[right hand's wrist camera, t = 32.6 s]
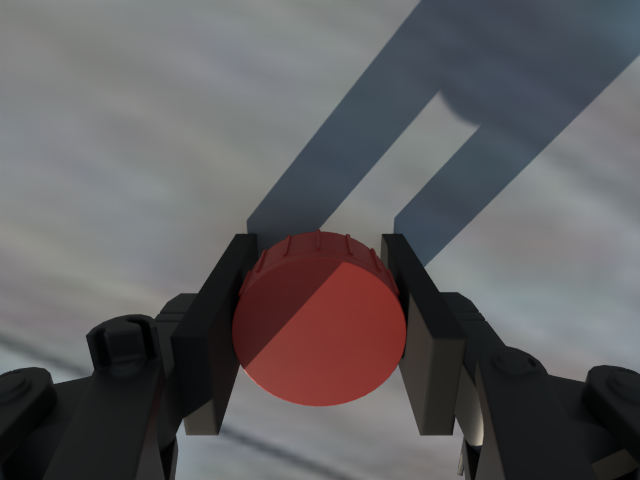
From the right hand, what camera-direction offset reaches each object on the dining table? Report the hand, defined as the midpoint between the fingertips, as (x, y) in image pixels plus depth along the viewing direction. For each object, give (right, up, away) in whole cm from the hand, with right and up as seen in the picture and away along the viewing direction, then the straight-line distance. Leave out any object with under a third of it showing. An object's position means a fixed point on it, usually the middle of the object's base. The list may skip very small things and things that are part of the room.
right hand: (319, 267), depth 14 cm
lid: (0, -1, -4) cm, 4 cm away
